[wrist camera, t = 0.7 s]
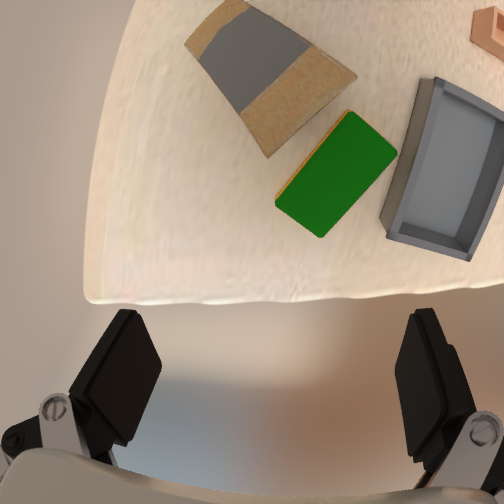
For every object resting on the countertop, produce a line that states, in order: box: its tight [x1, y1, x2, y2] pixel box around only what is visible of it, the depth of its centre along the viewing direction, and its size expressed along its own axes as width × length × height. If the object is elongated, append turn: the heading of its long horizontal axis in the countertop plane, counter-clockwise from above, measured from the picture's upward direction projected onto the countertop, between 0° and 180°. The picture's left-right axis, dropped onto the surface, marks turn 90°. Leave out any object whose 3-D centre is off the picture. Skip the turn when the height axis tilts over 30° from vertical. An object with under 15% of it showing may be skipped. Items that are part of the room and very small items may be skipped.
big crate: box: [379, 77, 504, 262], centre depth 29 cm, size 18×12×5 cm
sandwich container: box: [184, 0, 357, 159], centre depth 23 cm, size 9×15×15 cm, turn 47°
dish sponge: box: [275, 110, 397, 238], centre depth 34 cm, size 7×14×2 cm, turn 145°
